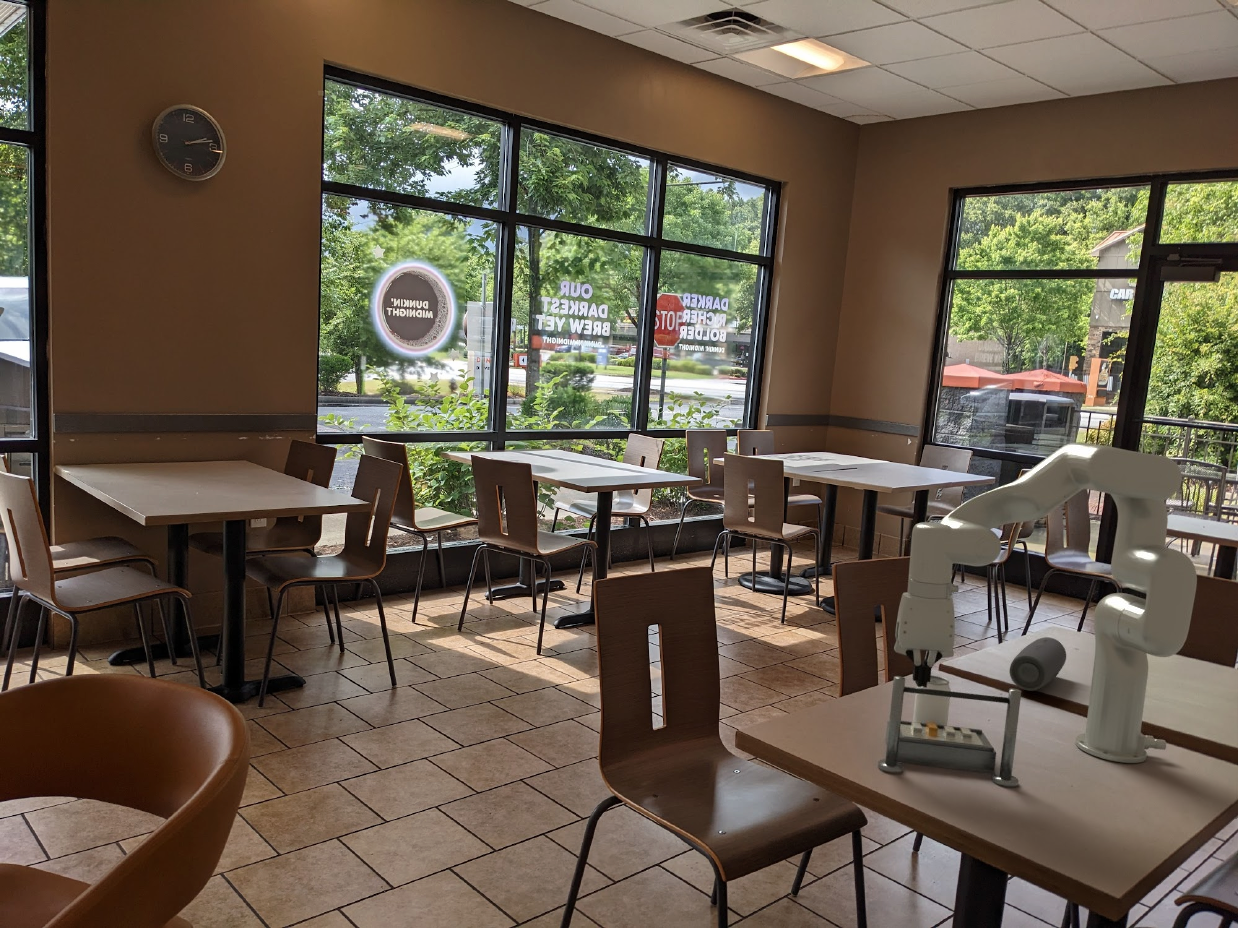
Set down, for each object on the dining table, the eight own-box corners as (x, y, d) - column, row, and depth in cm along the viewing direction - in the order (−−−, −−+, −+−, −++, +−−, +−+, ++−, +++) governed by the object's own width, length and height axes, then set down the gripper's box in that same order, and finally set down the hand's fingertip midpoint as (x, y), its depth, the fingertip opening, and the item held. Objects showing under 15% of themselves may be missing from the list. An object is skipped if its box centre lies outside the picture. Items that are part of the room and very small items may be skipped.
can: (947, 746, 186) (953, 686, 184) (913, 741, 187) (919, 682, 186) (943, 734, 192) (949, 676, 191) (909, 730, 193) (915, 672, 192)
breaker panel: (980, 752, 184) (983, 723, 183) (993, 773, 174) (997, 742, 173) (885, 741, 186) (888, 712, 185) (893, 761, 176) (896, 731, 176)
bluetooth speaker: (1026, 669, 242) (1031, 631, 241) (1066, 678, 237) (1070, 639, 236) (1004, 690, 224) (1008, 649, 223) (1046, 700, 218) (1051, 658, 217)
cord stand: (1014, 778, 172) (1024, 687, 170) (1021, 788, 168) (1031, 695, 166) (876, 762, 175) (885, 672, 174) (879, 771, 171) (888, 680, 169)
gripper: (965, 587, 180) (957, 682, 182) (884, 581, 182) (877, 675, 183) (975, 597, 172) (966, 695, 174) (890, 590, 174) (882, 687, 176)
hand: (920, 684), depth 179 cm, fingers closed
